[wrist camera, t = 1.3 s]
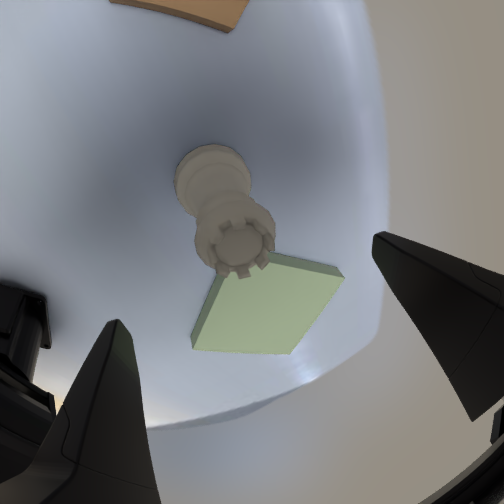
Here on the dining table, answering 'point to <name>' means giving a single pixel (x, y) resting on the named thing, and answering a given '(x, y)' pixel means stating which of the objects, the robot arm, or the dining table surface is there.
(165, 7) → the walnut block
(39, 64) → the dining table surface
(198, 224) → the rook chess piece
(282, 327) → the sage block
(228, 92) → the dining table surface
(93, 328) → the dining table surface
